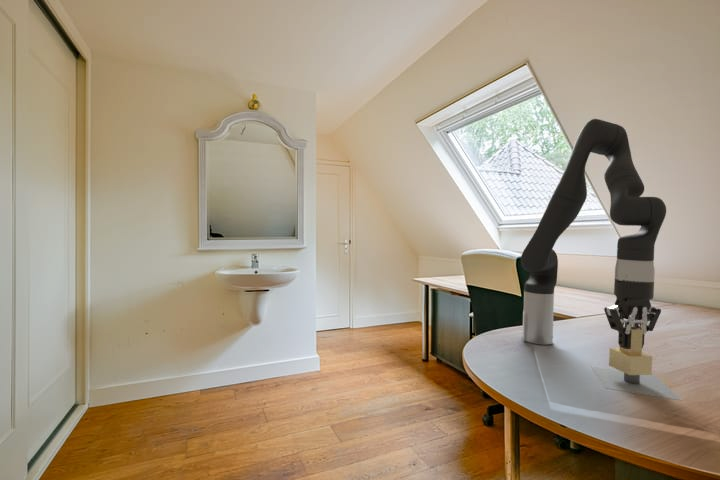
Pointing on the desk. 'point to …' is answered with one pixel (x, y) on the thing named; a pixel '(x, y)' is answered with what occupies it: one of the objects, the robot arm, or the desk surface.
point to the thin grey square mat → (634, 383)
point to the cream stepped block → (631, 356)
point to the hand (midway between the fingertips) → (630, 347)
